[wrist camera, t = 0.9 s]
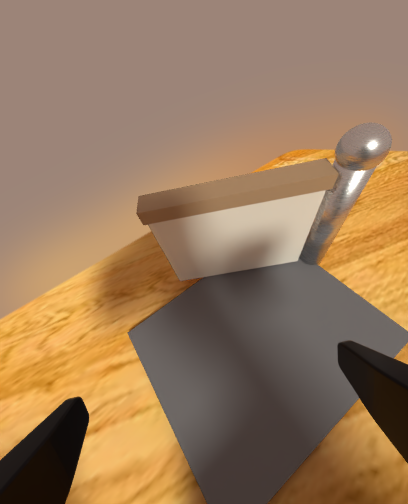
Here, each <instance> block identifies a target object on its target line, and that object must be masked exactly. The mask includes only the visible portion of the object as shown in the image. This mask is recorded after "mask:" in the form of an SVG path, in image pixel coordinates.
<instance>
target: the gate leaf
mask: <svg viewBox="0 0 408 504" xmlns="http://www.w3.org/2000/svg"><path fill="white" fill-rule="evenodd" d="M338 175H339V173H338V172H337V171H336V169H335V168H334V167H333V166H332V165H331V163H330V162H329V161H328V160H327V158H325V159H320V160H315V161H310V162H305V163H300V164H295V165H290V166H285V167H280V168H275V169H270V170H265V171H260V172H255V173H251V174H246V175H241V176H236V177H231V178H226V179H221V180H216V181H211V182H206V183H202V184H196V185H191V186H187V187H182V188H177V189H172V190H167V191H162V192H157V193H152V194H147V195H142V196H139V197H138V206H137V215H138V217H139V219H140V220H141V222H142V223H143V225H147V224H148V225H149V227H150V229H151V231H152V233H153V234H154V236H155V238H156V240H157V241H158V243H159V245H160V247H161V248H162V250H163V252H164V254H165V256H166V257H167V259H168V261H169V263H170V264H171V266H172V268H173V270H174V271H175V273H176V275H177V277H178V279H179V280H180V281H184V280H190V279H195V278H201V277H207V276H213V275H219V274H225V273H231V272H236V271H242V270H248V269H254V268H260V267H266V266H272V265H277V264H283V263H289V262H295V261H298V259H299V256H300V254H301V251H302V249H303V246H304V244H305V241H306V239H307V236H308V234H309V231H310V229H311V226H312V224H313V221H314V219H315V216H316V214H317V211H318V209H319V206H320V204H321V201H322V199H323V196H324V194H325V191H326V190H329V189H333V186H334V184H335V182H336V179H337V177H338Z"/></svg>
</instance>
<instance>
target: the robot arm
mask: <svg viewBox="0 0 408 504" xmlns="http://www.w3.org/2000/svg"><path fill="white" fill-rule="evenodd" d="M337 353H338V364H339V367H340V369H341V370H342V372H343V374H344V375H345V377H346V378H347V380H348V381H349V383H350V384H351V386H352V387H353V389H354V390H355V392H356V393H357V395H358V396H359V398H360V400H361V401H362V403H363V404H364V406H365V407H366V409H367V410H368V412H369V413H370V415H371V416H372V418H373V419H374V420H375V422H376V423H377V424H378V426H379V427H380V428H381V429H382V431H383V432H384V433H385V435H386V436H387V437H388V439H389V440H390V441H391V442H392V444H393V445H394V446H395V448H396V449H397V450H398V451H399V453H400V454H401V455H402V457H403V458H404V459H405V461H406V462H407V463H408V364H405V363H403V362H401V361H398V360H396V359H394V358H391V357H389V356H387V355H384V354H382V353H380V352H377V351H375V350H373V349H370V348H368V347H366V346H363V345H361V344H359V343H356V342H354V341H351V340H347V341H342V342H339V343H338V345H337ZM88 423H89V413H88V411H87V409H86V406H85V404H84V402H83V399H82V398H81V397H74V398H69V399H67V400H66V401H64V402H63V403H62V404H61V405H60V406H59V407H58V408H57V409H56V410H55V411H53V412H52V413H51V414H50V415H49V416H48V417H47V418H46V419H45V420H44V421H43V422H41V423H40V424H39V425H38V426H37V427H36V428H35V429H34V430H33V431H32V432H31V433H29V434H28V435H27V436H26V437H25V438H24V439H23V440H22V441H21V442H20V443H19V444H18V445H16V446H15V447H14V448H13V449H12V450H11V451H10V452H9V453H8V454H7V455H6V456H4V457H3V458H2V459H1V460H0V504H65V502H66V500H67V497H68V494H69V491H70V488H71V485H72V482H73V478H74V475H75V471H76V468H77V464H78V460H79V456H80V453H81V449H82V445H83V442H84V438H85V434H86V430H87V427H88Z"/></svg>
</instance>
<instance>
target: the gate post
mask: <svg viewBox="0 0 408 504" xmlns="http://www.w3.org/2000/svg"><path fill="white" fill-rule="evenodd" d="M391 143H392V139H391V134H390V132H389V131H388V129H386V127H384V126H383V125H381V124H378V123H364V124H361V125H358V126H356V127H354V128H352V129H350V130H349V131H348V132H346V133H345V135H343V136H342V138H341V139H340V141H339V142H338V144H337V146H336V150H335V161H334V163H333V167H334V168H335V169H336V171H337V172H338V173H339V175H338V177H337V179H336V182H335V184H334V186H333V189H329V190H326V191H325V194H324V196H323V199H322V201H321V204H320V206H319V209H318V211H317V214H316V216H315V219H314V221H313V224H312V226H311V229H310V231H309V234H308V236H307V239H306V241H305V244H304V246H303V249H302V251H301V254H300V256H299V258H300V259H301V261H302V262H304V263H305V264H308V265H319V264H320V263H321V261H322V259H323V258H324V256H325V254H326V252H327V251H328V249H329V247H330V245H331V244H332V242H333V240H334V239H335V237H336V235H337V233H338V232H339V230H340V228H341V227H342V225H343V223H344V221H345V220H346V218H347V216H348V214H349V213H350V211H351V209H352V208H353V206H354V204H355V202H356V201H357V199H358V197H359V196H360V194H361V192H362V190H363V189H364V187H365V185H366V183H367V182H368V180H369V178H370V177H371V175H372V173H373V171H374V170H375V168H376V166H377V165H379V164H380V163H381V162H382V161H383V160H384V159H385V158H386V156H387V155H388V153H389V151H390V148H391Z"/></svg>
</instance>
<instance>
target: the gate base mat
mask: <svg viewBox="0 0 408 504" xmlns="http://www.w3.org/2000/svg"><path fill="white" fill-rule="evenodd" d="M128 335H129V337H130V339H131V341H132V343H133V346H134V348H135V350H136V352H137V354H138V356H139V358H140V361H141V363H142V365H143V367H144V369H145V371H146V373H147V376H148V378H149V380H150V382H151V384H152V386H153V388H154V391H155V393H156V395H157V397H158V399H159V401H160V403H161V406H162V408H163V410H164V412H165V414H166V416H167V418H168V421H169V423H170V425H171V427H172V429H173V431H174V433H175V436H176V438H177V440H178V442H179V444H180V446H181V448H182V451H183V453H184V455H185V457H186V459H187V461H188V463H189V466H190V468H191V470H192V472H193V474H194V476H195V478H196V481H197V483H198V485H199V487H200V489H201V491H202V493H203V496H204V498H205V500H206V502H207V504H267V503H268V502H269V501H270V500H271V499H272V497H273V496H274V495H275V494H276V493H277V492H278V490H279V489H280V488H281V487H282V486H283V485H284V484H285V482H286V481H287V480H288V479H289V478H290V477H291V476H292V474H293V473H294V472H295V471H296V470H297V469H298V468H299V466H300V465H301V464H302V463H303V462H304V461H305V459H306V458H307V457H308V456H309V455H310V454H311V453H312V451H313V450H314V449H315V448H316V447H317V446H318V445H319V443H320V442H321V441H322V440H323V439H324V438H325V437H326V435H327V434H328V433H329V432H330V431H331V430H332V428H333V427H334V426H335V425H336V424H337V423H338V422H339V420H340V419H341V418H342V417H343V416H344V415H345V414H346V412H347V411H348V410H349V409H350V408H351V407H352V406H353V404H354V403H355V402H356V401H357V400H358V399H359V396H358V395H357V393H356V392H355V390H354V389H353V387H352V386H351V384H350V383H349V381H348V380H347V378H346V377H345V375H344V374H343V372H342V370H341V369H340V367H339V364H338V353H337V345H338V343H339V342H342V341H347V340H351V341H354V342H356V343H359V344H361V345H363V346H366V347H368V348H370V349H373V350H375V351H377V352H380V353H382V354H384V355H387V356H389V357H391V358H394V357H395V356H396V355H397V354H398V353H399V352H400V350H401V349H402V348H403V347H404V346H405V345H406V344H407V342H408V331H407V330H405V329H404V328H402V327H401V326H400V325H398V324H397V323H396V322H394V321H393V320H392V319H390V318H389V317H388V316H386V315H385V314H384V313H382V312H381V311H379V310H378V309H377V308H375V307H374V306H373V305H371V304H370V303H369V302H367V301H366V300H365V299H363V298H362V297H360V296H359V295H358V294H356V293H355V292H354V291H352V290H351V289H350V288H348V287H347V286H346V285H344V284H343V283H342V282H340V281H339V280H337V279H336V278H335V277H333V276H332V275H331V274H329V273H328V272H327V271H325V270H324V269H323V268H321V267H320V266H318V265H308V264H305V263H304V262H302V261H301V259H300V258H299V259H298V261H295V262H289V263H283V264H277V265H272V266H266V267H260V268H254V269H248V270H242V271H236V272H231V273H225V274H219V275H213V276H207V277H203V278H202V279H201V280H199V281H198V282H196V283H195V284H194V285H192V286H191V287H190V288H188V289H187V290H186V291H184V292H183V293H181V294H180V295H179V296H177V297H176V298H175V299H173V300H172V301H170V302H169V303H168V304H166V305H165V306H164V307H162V308H161V309H160V310H158V311H157V312H155V313H154V314H153V315H151V316H150V317H149V318H147V319H146V320H145V321H143V322H142V323H140V324H139V325H138V326H136V327H135V328H134V329H132V330H131V331H130V332H128Z"/></svg>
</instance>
